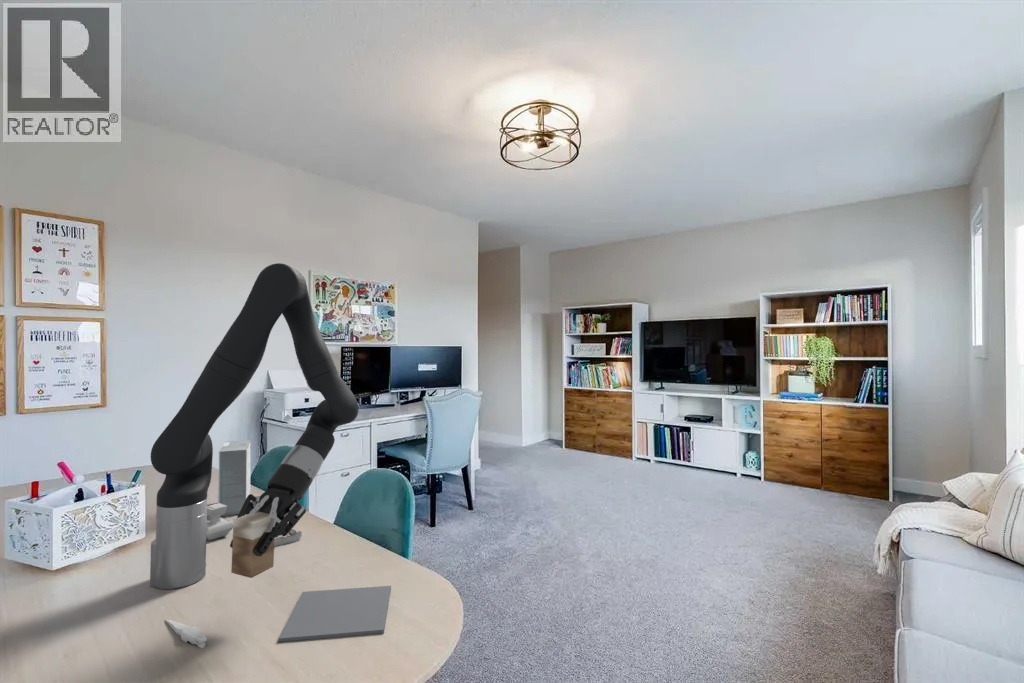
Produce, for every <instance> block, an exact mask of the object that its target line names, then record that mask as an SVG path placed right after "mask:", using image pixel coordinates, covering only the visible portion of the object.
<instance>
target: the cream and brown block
mask: <svg viewBox="0 0 1024 683" xmlns="http://www.w3.org/2000/svg"><path fill="white" fill-rule="evenodd" d="M270 519H271V516H269V514H268V513H263V512H257V513H250V514H247V515H244V516H242V517H239V518H237V517H236V518H234V519H233V522H232V524H233V528H232V539H233V545H232V548H231V550H232V552H231V553H232V554H231V572H230V573H231V574H233V575H238V576H242V577H245V578H250V579H253V578H254V577H257V576H258V575H260V574H262V573H264V572H266V571H268V570H270V569H272V568H273V567H274V565H275V564H274V563H275V562H274V561H275V558H274V557H275V547H274V540H273V541H272V543H271V544H270V546H269V548H268V549H267V551H266V552H265V553H264V554H263V555H262V556H257V555H255V554H254V553H253V549H254V547H255V546H256V544H257V542H258V541H259V539H260V538H261V536H262V535H263V533H264V532H265V533H266V529H267V526H268V525H269V523H270V521H271V520H270ZM274 527H275V526H274ZM274 539H276V538H274Z"/></svg>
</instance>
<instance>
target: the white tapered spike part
mask: <svg viewBox="0 0 1024 683" xmlns="http://www.w3.org/2000/svg"><path fill="white" fill-rule="evenodd" d="M164 621H165V622H166V624H168V625H169V627H170V628H171V630H173V631H174V632H175V634H176V635H178V636H180V639H181V640H182V641H183V642H184V643H188V642H190V644H192V645H196V646H198V648H200V649H203V648H206V643H205V642H207V641H208V638H207V637H205V636H204V633H203V632H202V631H201V629H200V628H199V626H196V625H195V626H194V625H188V624H184V623H181V622H178V621H174V620H172V619H171V620H170V619H164Z"/></svg>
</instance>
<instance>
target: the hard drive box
mask: <svg viewBox="0 0 1024 683" xmlns="http://www.w3.org/2000/svg"><path fill="white" fill-rule="evenodd" d="M251 444H252V443H251V440H250V439H243V440H242V439H241V440H240V439H239V440H229V441H228V440H227V441H224V443H223V445H222V447H221V448H220V449H219V450H218V451H219V452H218V493H217V494H218V496H217V497H218V498H217V500H218V501H217V502H218V503H220V504H223V505H226V506H227V510H226V511H225V514H223V515H221V517H229V516H235V515H236V514H237V515H239V513H240V511H241V509H242V506H243V504H244V502H245V500H246V498H247V496H248V495H250V494H251ZM218 503H217V504H218ZM237 515H236V516H237Z"/></svg>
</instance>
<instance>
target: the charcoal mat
mask: <svg viewBox="0 0 1024 683" xmlns="http://www.w3.org/2000/svg"><path fill="white" fill-rule="evenodd" d="M391 591H392V585H384V586H383V585H380V586H365V587H353V588H339V589H337V588H335V589H325V590H308V591H302V592H301V594H300V596H299V598H298V599H297V601H296V604H295V605H294V607H293V609H292V610H291V611H292V612H291V614H290V615H289V617H288V619H287V621H286V623H285V625H284V627H283V628H282V631H281V633H280V635H279V637H278V640H277V641H278V643H280V642H294V641H303V640H305V641H306V640H315V639H328V638H329V639H330V638H339V637H340V638H341V637H352V636H363V635H365V636H366V635H374V634H384V633H385V629H386V628H385V627H386V623H387V621H386V620H387V616H388V611H389V610H388V609H389V602H390V597H391Z"/></svg>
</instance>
